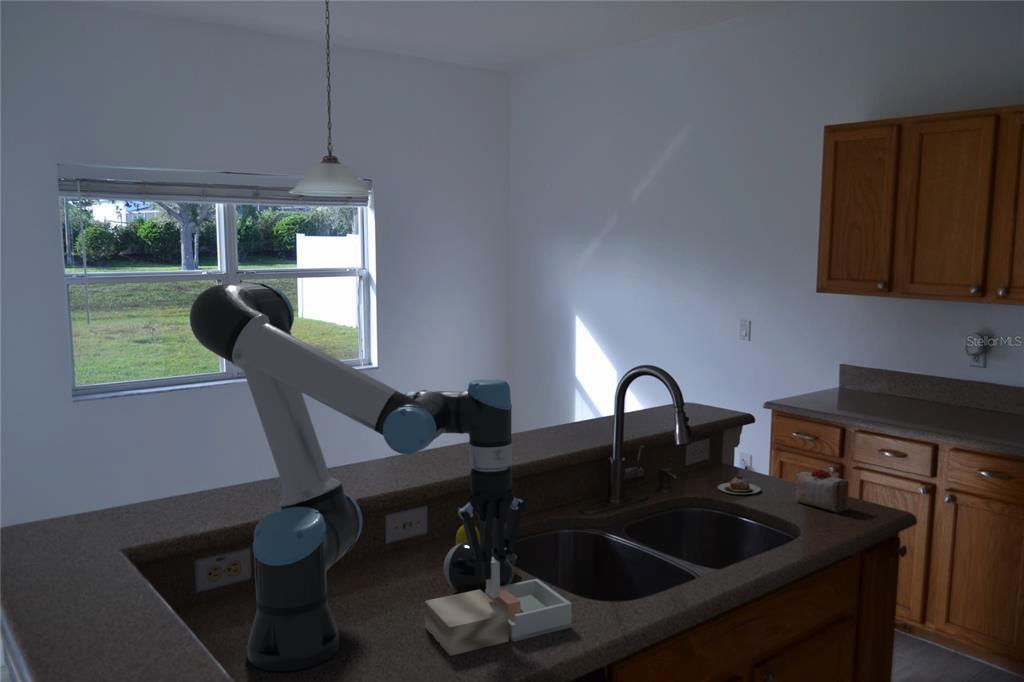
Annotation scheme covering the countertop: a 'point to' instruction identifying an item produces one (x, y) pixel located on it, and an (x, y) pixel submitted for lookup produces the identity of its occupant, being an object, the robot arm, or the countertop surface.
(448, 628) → the cream tray box
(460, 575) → the glossy black oval shape
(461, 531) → the lemon
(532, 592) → the grey bin
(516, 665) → the countertop surface
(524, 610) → the sage tile
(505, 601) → the terracotta tile
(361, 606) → the countertop surface
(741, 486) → the pastry
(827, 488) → the food item
